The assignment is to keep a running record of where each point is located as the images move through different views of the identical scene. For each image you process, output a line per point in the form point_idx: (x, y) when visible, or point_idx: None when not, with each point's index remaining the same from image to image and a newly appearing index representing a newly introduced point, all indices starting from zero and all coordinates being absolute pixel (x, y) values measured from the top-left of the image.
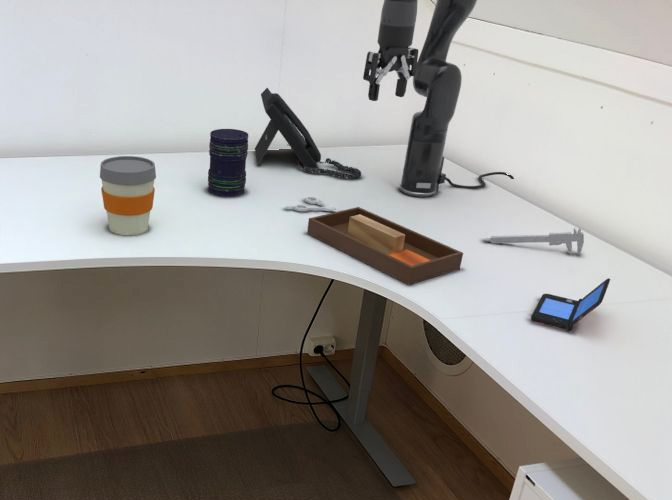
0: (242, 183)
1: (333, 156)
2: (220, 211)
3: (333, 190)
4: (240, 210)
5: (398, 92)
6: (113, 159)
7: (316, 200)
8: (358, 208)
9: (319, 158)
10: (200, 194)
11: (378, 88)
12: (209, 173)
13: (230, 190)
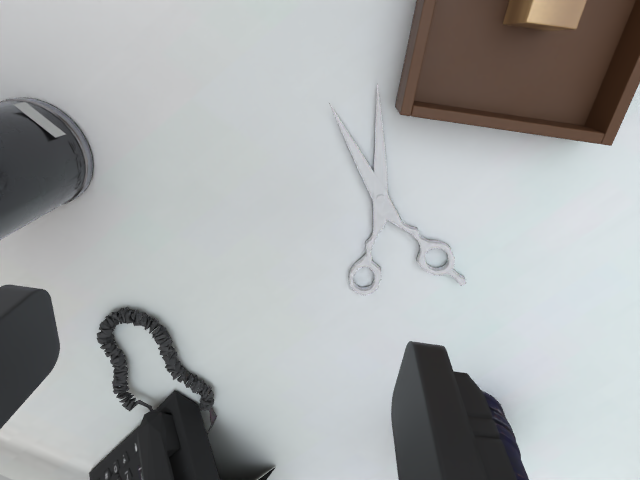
0: None
1: (72, 421)
2: (585, 356)
3: (248, 293)
4: (546, 335)
5: (28, 354)
6: None
7: (364, 265)
8: (412, 104)
9: (157, 415)
10: (518, 434)
11: (453, 450)
12: None
13: (493, 407)
